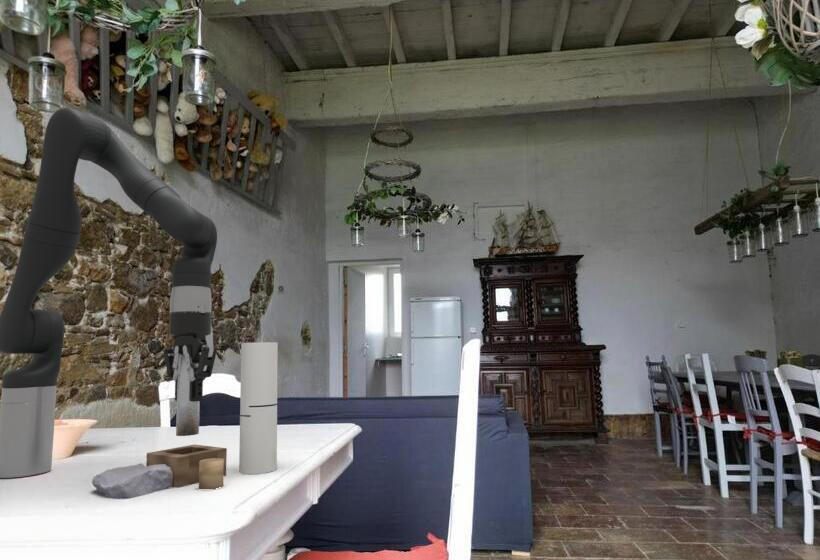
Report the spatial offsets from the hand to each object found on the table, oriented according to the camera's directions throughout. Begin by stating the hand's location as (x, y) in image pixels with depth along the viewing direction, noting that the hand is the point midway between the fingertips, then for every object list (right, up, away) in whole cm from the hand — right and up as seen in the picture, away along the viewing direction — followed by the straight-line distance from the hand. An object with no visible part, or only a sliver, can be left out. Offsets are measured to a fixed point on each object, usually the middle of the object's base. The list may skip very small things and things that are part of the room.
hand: (188, 400), depth 101 cm
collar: (0, -14, -2) cm, 14 cm away
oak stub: (+8, -13, -9) cm, 18 cm away
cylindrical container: (+12, -15, +4) cm, 20 cm away
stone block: (-6, -14, -9) cm, 18 cm away
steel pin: (0, -6, -1) cm, 6 cm away
